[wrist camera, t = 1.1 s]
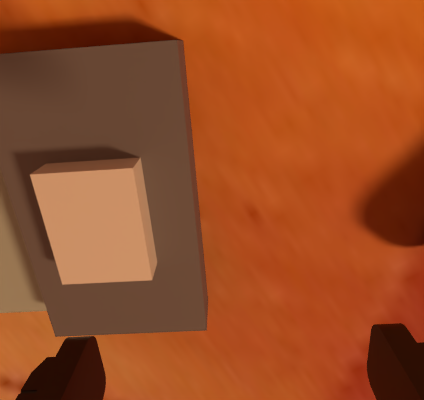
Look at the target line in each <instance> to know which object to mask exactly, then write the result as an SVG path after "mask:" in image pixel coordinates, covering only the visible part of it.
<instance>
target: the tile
mask: <svg viewBox="0 0 424 400" xmlns="http://www.w3.org/2000/svg"><path fill="white" fill-rule="evenodd" d="M30 177H31V180H32V184H33V187H34V191H35V194H36V197H37V201H38V204H39V207H40V211H41V214H42V218H43V221H44V224H45V228H46V231H47V234H48V238H49V241H50V245H51V248H52V251H53V255H54V258H55V261H56V265H57V268H58V272H59V275H60V278H61V282H62V285H64V284H85V283H106V282H127V281H147V280H152V279H153V276H154V272H155V269H156V265H157V258H156V251H155V245H154V239H153V233H152V226H151V220H150V214H149V208H148V201H147V195H146V189H145V183H144V176H143V170H142V164H141V157H140V158H125V159H109V160H94V161H78V162H63V163H47V164H45V165H43V166H42V167H40V168H39V169H37V170H36V171H34V172H33V173H31V174H30Z"/></svg>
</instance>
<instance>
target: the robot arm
mask: <svg viewBox="0 0 424 400" xmlns="http://www.w3.org/2000/svg"><path fill="white" fill-rule="evenodd" d="M367 373H368V378H369V382H370V385H371V388H372V390H373V392H374V395H375V397H376V399H377V400H424V343H417V342H416V341H415V339H414V338H413V336H412V335H411V333H410V332H409V331H408V329H407V328H406V326H404V325H403V324H401V323H399V324H377V325H373V326H372V329H371V336H370V344H369V352H368V360H367ZM105 385H106V377H105V371H104V367H103V363H102V359H101V356H100V352H99V348H98V344H97V340H96V338H95V337H94V336H86V337H68V338H66V339H65V340H64V342H63V344H62V346H61V348H60V349H59V351H58V353H57V355H56V357H47V358H46V359H45V360H44V361H43V362H42V363H41V364H40V365H39V366H38V367H37V368H36V369H35V370H34V371H33V372H32V373H31V374H30V376H29V378H28V379H27V381H26V383H25V384H24V386H23V388H22V389H21V393H20V394H19V395H18V396H17V398H16V400H103V397H104V392H105Z"/></svg>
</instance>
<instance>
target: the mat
mask: <svg viewBox="0 0 424 400" xmlns="http://www.w3.org/2000/svg"><path fill="white" fill-rule="evenodd" d="M32 311H47V309H46V306H45V303H44V300H43V297H42V294H41V291H40V288H39V285H38V282H37V279H36V275H35V272H34V269H33V266H32V263H31V260H30V257H29V254H28V251H27V248H26V245H25V242H24V239H23V236H22V233H21V230H20V227H19V224H18V221H17V218H16V215H15V212H14V209H13V206H12V203H11V200H10V197H9V194H8V191H7V188H6V185H5V182H4V178H3V175H2V172H1V169H0V313H9V312H32Z"/></svg>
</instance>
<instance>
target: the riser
mask: <svg viewBox="0 0 424 400" xmlns="http://www.w3.org/2000/svg"><path fill="white" fill-rule="evenodd" d="M140 157H141V164H142V170H143V176H144V183H145V189H146V195H147V201H148V208H149V214H150V220H151V226H152V233H153V239H154V245H155V251H156V258H157V265H156V269H155V272H154V276H153V279H152V280H147V281H127V282H106V283H85V284H64V285H62V282H61V278H60V275H59V272H58V268H57V265H56V261H55V258H54V255H53V251H52V248H51V245H50V241H49V238H48V234H47V231H46V228H45V224H44V221H43V218H42V214H41V211H40V207H39V204H38V201H37V197H36V194H35V191H34V187H33V184H32V180H31V177H30V174H31V173H33V172H34V171H36V170H37V169H39V168H40V167H42V166H43V165H45V164H47V163H63V162H78V161H94V160H109V159H125V158H140ZM0 169H1V172H2V175H3V178H4V182H5V185H6V188H7V191H8V194H9V197H10V200H11V203H12V206H13V209H14V212H15V215H16V218H17V221H18V224H19V227H20V230H21V233H22V236H23V239H24V242H25V245H26V248H27V251H28V254H29V257H30V260H31V263H32V266H33V269H34V272H35V275H36V279H37V282H38V285H39V288H40V291H41V294H42V297H43V300H44V303H45V306H46V309H47V312H48V315H49V318H50V321H51V324H52V327H53V330H54V333H55V336H56V337H57V336H81V335H106V334H130V333H154V332H178V331H203V330H207V311H208V296H207V286H206V275H205V265H204V254H203V244H202V234H201V223H200V213H199V202H198V192H197V182H196V171H195V161H194V150H193V140H192V129H191V119H190V109H189V98H188V88H187V77H186V67H185V56H184V46H183V41H182V40H168V41H156V42H143V43H131V44H118V45H106V46H93V47H81V48H68V49H56V50H43V51H31V52H18V53H6V54H0Z"/></svg>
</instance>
